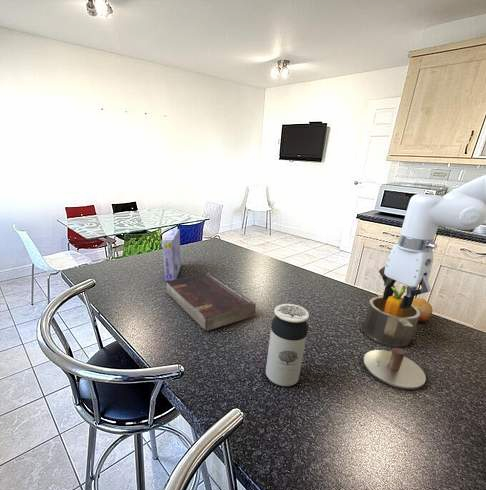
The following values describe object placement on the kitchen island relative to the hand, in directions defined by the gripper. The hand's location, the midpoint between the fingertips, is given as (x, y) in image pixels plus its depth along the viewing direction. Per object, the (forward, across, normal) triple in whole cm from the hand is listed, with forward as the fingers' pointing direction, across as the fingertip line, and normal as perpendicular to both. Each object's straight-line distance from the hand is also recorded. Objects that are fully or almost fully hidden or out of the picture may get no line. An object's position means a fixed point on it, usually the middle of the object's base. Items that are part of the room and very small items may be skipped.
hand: (395, 302), depth 84 cm
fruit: (+11, +3, -17) cm, 20 cm away
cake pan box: (+11, +67, +48) cm, 83 cm away
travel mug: (+11, -3, +40) cm, 42 cm away
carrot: (+10, 0, 0) cm, 10 cm away
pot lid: (+10, -12, +13) cm, 20 cm away
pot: (+11, 0, 0) cm, 11 cm away
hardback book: (+11, +36, +44) cm, 58 cm away
